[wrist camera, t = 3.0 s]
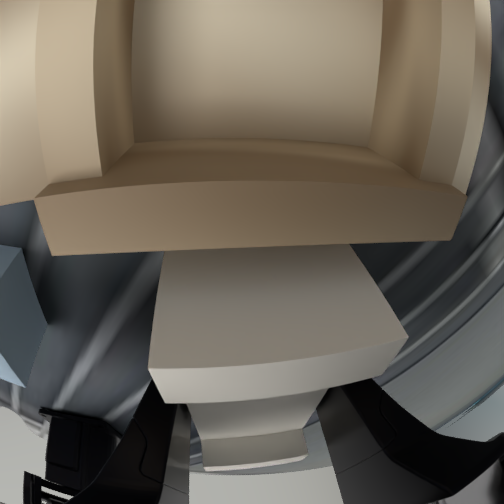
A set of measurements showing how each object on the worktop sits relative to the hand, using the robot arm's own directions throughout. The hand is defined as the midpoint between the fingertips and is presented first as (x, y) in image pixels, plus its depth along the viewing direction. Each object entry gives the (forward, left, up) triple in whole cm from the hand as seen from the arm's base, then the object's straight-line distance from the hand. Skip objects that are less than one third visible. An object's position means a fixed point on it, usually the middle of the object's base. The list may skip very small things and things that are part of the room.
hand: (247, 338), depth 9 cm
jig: (+11, 0, -1) cm, 12 cm away
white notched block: (0, 0, -1) cm, 1 cm away
